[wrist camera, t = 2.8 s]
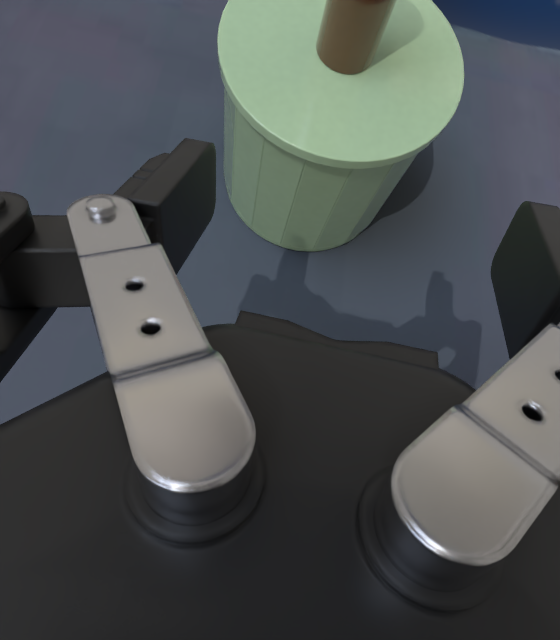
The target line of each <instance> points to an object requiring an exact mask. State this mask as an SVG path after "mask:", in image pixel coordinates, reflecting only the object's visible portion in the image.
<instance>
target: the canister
mask: <svg viewBox="0 0 560 640" xmlns="http://www.w3.org/2000/svg"><path fill="white" fill-rule="evenodd" d="M418 153H419V152H418ZM418 153H417V154H418ZM417 154H415V155H413V156H411V157H410V158H407V159H405V160H402V161H400V162H397V163H395V164H391V165H387V166H383V167H377V168H368V169H344V168H336V167H329V166H325V165H321V164H317V163H313V162H310V161H307V160H305V159H302V158H299V157H297V156H295V155H293V154H291V153H289V152H287V151H285V150H283V149H281V148H279V147H278V146H276V145H275V144H273V143H272V142H270V141H269V140H267V139H266V138H265V137H264V136H262V135H261V134H260V133H259V132H258V131H256V130H255V129H254V128H253V127H252V126H251V125H250V124H249V123H248V121H247V120H246V119H245V118H244V117H243V116H242V115H241V113H240V112H239V110H238V109H237V108H236V106H235V105H234V103H233V102H232V100H231V98H230V96H229V94H228V92H227V91H226V88H225V85H224V177H225V183H226V188H227V193H228V196H229V198H230V201H231V203H232V205H233V207H234V209H235V211H236V212H237V214H238V215H239V217H240V218H241V219H242V220H243V221H244V223H245V224H246V225H247V226H248V227H249V228H250V229H252V230H253V231H254V232H255V233H256V234H258V235H259V236H261V237H262V238H264V239H265V240H267V241H269V242H271V243H273V244H275V245H278V246H281V247H284V248H288V249H292V250H297V251H322V250H328V249H331V248H335V247H338V246H340V245H343V244H345V243H347V242H349V241H350V240H352V239H353V238H355V237H356V236H357V235H359V234H360V233H361V232H362V231H363V230H364V229H365V228H366V227H368V225H370V223H371V222H372V220H373V219H374V217H375V216H376V214H377V213H378V211H379V210H380V208H381V207H382V206H383V204H384V203H385V201H386V200H387V198H388V197H389V195H390V194H391V192H392V191H393V189H394V188H395V186H396V185H397V184H398V182H399V181H400V179H401V178H402V176H403V175H404V173H405V172H406V170H407V169H408V167H409V166H410V165H411V163H412V162H413V160H414V159H415V157H416V156H417Z"/></svg>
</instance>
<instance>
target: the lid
mask: <svg viewBox="0 0 560 640" xmlns="http://www.w3.org/2000/svg"><path fill="white" fill-rule="evenodd" d="M217 51H218V64H219V69H220V74H221V77H222V80H223V83H224V85H225V88H226V91H227V92H228V94H229V96H230V98H231V100H232V102H233V103H234V105H235V106H236V108H237V109H238V110H239V112H240V113H241V115H242V116H243V117H244V118H245V119H246V120H247V121H248V123H249V124H250V125H251V126H252V127H253V128H254V129H255V130H256V131H258V132H259V133H260V134H261V135H262V136H264V137H265V138H266V139H267V140H269V141H270V142H272V143H273V144H275V145H276V146H278V147H279V148H281V149H283V150H285V151H287V152H289V153H291V154H293V155H295V156H297V157H299V158H302V159H305V160H307V161H310V162H313V163H317V164H321V165H325V166H329V167H336V168H344V169H368V168H377V167H383V166H387V165H391V164H395V163H397V162H400V161H402V160H405V159H407V158H410V157H411V156H413V155H415V154H417V153H418V152H420V151H422V150H423V149H425V148H426V147H427V146H428V145H430V144H431V143H432V142H433V141H434V140H435V139H436V138H437V137H438V136H439V135H440V134H441V133H442V131H443V130H444V129H445V127H446V126H447V124H448V123H449V121H450V120H451V118H452V117H453V115H454V114H455V111H456V109H457V107H458V105H459V102H460V99H461V95H462V91H463V84H464V63H463V58H462V53H461V49H460V46H459V43H458V40H457V38H456V35H455V33H454V31H453V29H452V27H451V25H450V24H449V22H448V21H447V19H446V18H445V16H444V15H443V13H442V12H441V11H440V9H438V7H437V6H436V5H435V4H434V3H433V1H432V0H229V1H228V3H227V5H226V7H225V9H224V11H223V13H222V17H221V20H220V24H219V29H218V38H217Z"/></svg>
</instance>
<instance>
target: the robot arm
mask: <svg viewBox="0 0 560 640" xmlns="http://www.w3.org/2000/svg"><path fill="white" fill-rule="evenodd" d="M215 202H216V150H215V146H214V144H213V143H210V142H205V141H199V140H194V139H188V138H185V139H184V140H183V141H182V142H181V143H180V144H179V145H178V146H177V147H176V148H175V149H174V150H173V151H172V152H171V153H170V154H168V153H163V154H161V155H158V156H156V157H153V158H151V159H149V160H148V161H147V162H146V163H145V164H144V165H143V166H142V167H141V168H140V170H138V171H137V172H136V173H134V174H133V177H130V178H129V179H128V180H127V181H126V182H125V183H124V184H123V185H122V186H121V187H120V188H119V189H118V190H117V191H116V192H115V193H114V194H113V195H110V194H98V195H91V196H87V197H83V198H81V199H78V200H76V201H75V202H73V203H72V204H71V205H70V206H69V207H68V209H67V215H65V216H52V215H32V214H31V211H30V208H29V204H28V201H27V200H26V199H25V198H24V197H23V196H21V195H19V194H16V193H11V192H0V382H1V381H2V379H3V378H4V377H5V376H6V374H7V373H8V372H9V370H10V369H11V368H12V366H13V365H14V364H15V363H16V361H17V360H18V359H19V357H20V356H21V355H22V354H23V352H24V351H25V350H26V348H27V347H28V346H29V344H30V343H31V342H32V341H33V339H34V338H35V337H36V335H37V334H38V333H39V331H40V330H41V329H42V328H43V326H44V325H45V324H46V322H47V321H48V320H49V318H50V317H51V316H52V315H53V313H54V312H55V311H56V309H57V307H90V308H91V312H92V316H93V320H94V323H95V327H96V331H97V335H98V339H99V342H100V346H101V350H102V354H103V357H104V361H105V365H106V369H107V372H105V373H103V374H101V375H99V376H97V377H95V378H93V379H91V380H89V381H87V382H85V383H83V384H81V385H79V386H77V387H75V388H73V389H71V390H69V391H67V392H65V393H63V394H61V395H59V396H57V397H55V398H53V399H51V400H49V401H47V402H45V403H43V404H41V405H39V406H37V407H35V408H33V409H31V410H29V411H27V412H25V413H23V414H21V415H19V416H17V417H15V418H13V419H11V420H9V421H7V422H5V423H3V424H1V425H0V640H560V209H559V208H558V207H557V206H551V205H546V204H540V203H535V202H529V201H525V202H523V203H522V204H521V205H520V207H519V208H518V210H517V212H516V214H515V216H514V218H513V220H512V222H511V224H510V226H509V228H508V229H507V231H506V233H505V235H504V237H503V239H502V241H501V243H500V245H499V247H498V249H497V251H496V253H495V256H494V258H493V262H492V266H491V279H492V283H493V287H494V292H495V296H496V301H497V305H498V309H499V314H500V318H501V323H502V327H503V331H504V336H505V340H506V345H507V349H508V353H509V358H510V360H509V361H508V362H507V363H506V364H505V365H504V366H503V367H502V368H500V369H499V370H498V371H497V372H496V373H495V374H494V375H493V376H492V377H491V378H490V379H488V380H487V381H486V382H485V383H484V384H483V385H482V386H481V387H480V388H479V389H477V390H475V389H474V388H472V387H471V386H470V385H468V384H467V383H466V382H464V381H462V380H461V379H459V378H458V377H456V376H454V375H452V374H450V373H448V372H447V371H445V370H442V369H440V368H439V366H438V353H437V352H433V351H428V350H423V349H419V348H414V347H409V346H405V345H400V344H395V343H391V342H373V341H340V340H334V339H331V338H329V337H326V336H324V335H321V334H319V333H317V332H314V331H312V330H309V329H307V328H305V327H302V326H300V325H297V324H295V323H292V322H290V321H288V320H283V319H278V318H274V317H269V316H264V315H260V314H255V313H250V312H245V311H240V313H239V316H238V318H237V321H236V323H235V324H217V325H211V326H205V327H201V325H200V323H199V321H198V319H197V317H196V315H195V313H194V311H193V309H192V307H191V305H190V303H189V301H188V299H187V297H186V295H185V292H184V290H183V288H182V286H181V284H180V282H179V280H178V278H177V276H176V275H177V273H178V271H179V270H180V268H181V267H182V265H183V264H184V262H185V260H186V259H187V257H188V256H189V254H190V252H191V251H192V249H193V248H194V246H195V244H196V243H197V241H198V240H199V238H200V237H201V235H202V233H203V232H204V230H205V229H206V227H207V225H208V224H209V222H210V221H211V219H212V216H213V213H214V209H215Z"/></svg>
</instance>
